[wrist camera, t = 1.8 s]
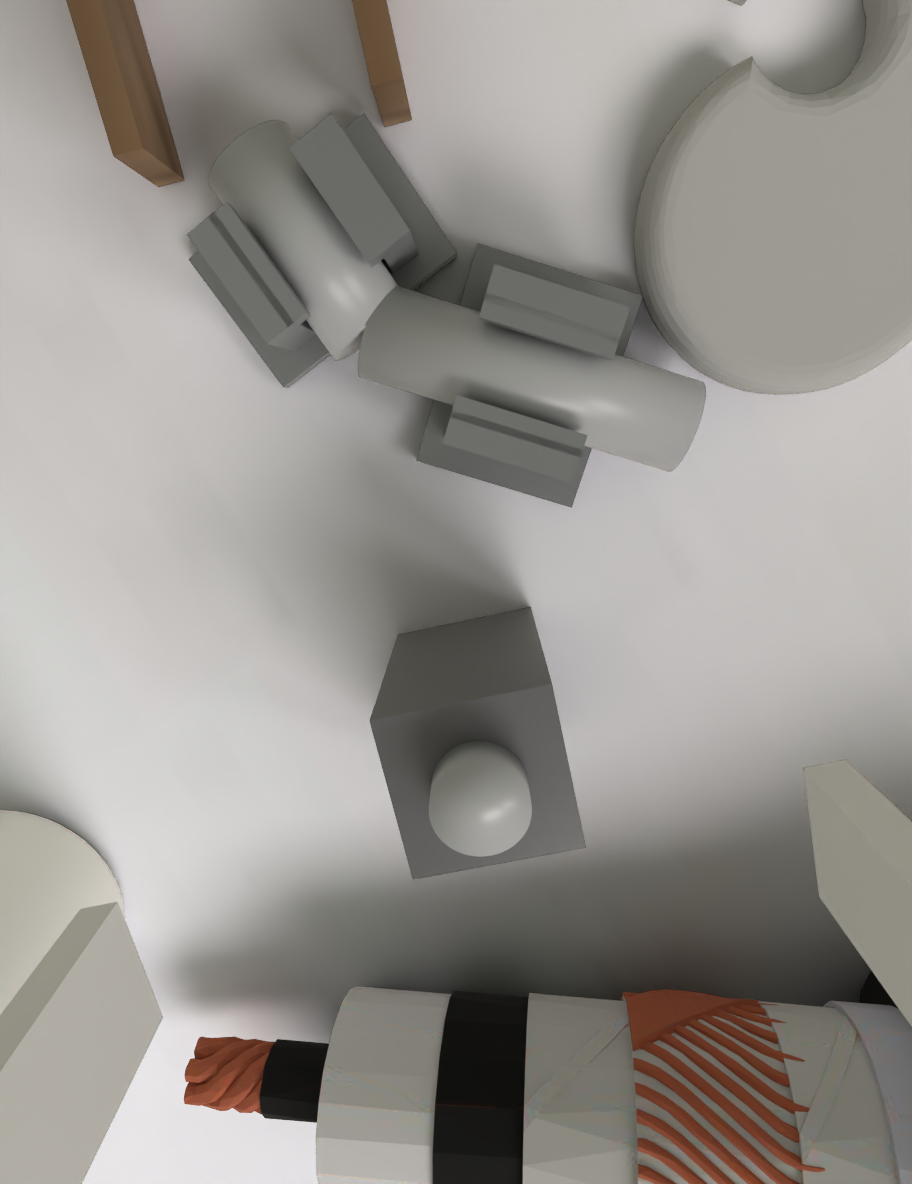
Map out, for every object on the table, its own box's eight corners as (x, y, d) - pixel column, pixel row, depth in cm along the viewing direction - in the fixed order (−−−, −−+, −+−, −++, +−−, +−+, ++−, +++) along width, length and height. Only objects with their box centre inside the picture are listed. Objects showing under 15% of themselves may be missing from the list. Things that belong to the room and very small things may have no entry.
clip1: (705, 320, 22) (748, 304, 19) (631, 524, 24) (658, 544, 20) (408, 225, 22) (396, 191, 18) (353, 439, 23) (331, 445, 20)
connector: (530, 606, 25) (557, 703, 17) (556, 730, 26) (593, 876, 18) (398, 634, 25) (362, 742, 17) (428, 755, 26) (409, 909, 18)
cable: (265, 895, 33) (141, 949, 23) (1128, 952, 28) (1433, 1050, 18) (240, 1160, 30) (92, 1346, 21) (1176, 1269, 26) (1553, 1572, 16)
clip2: (466, 271, 22) (465, 246, 19) (298, 401, 23) (266, 400, 20) (356, 104, 21) (332, 45, 18) (184, 248, 22) (131, 219, 19)
